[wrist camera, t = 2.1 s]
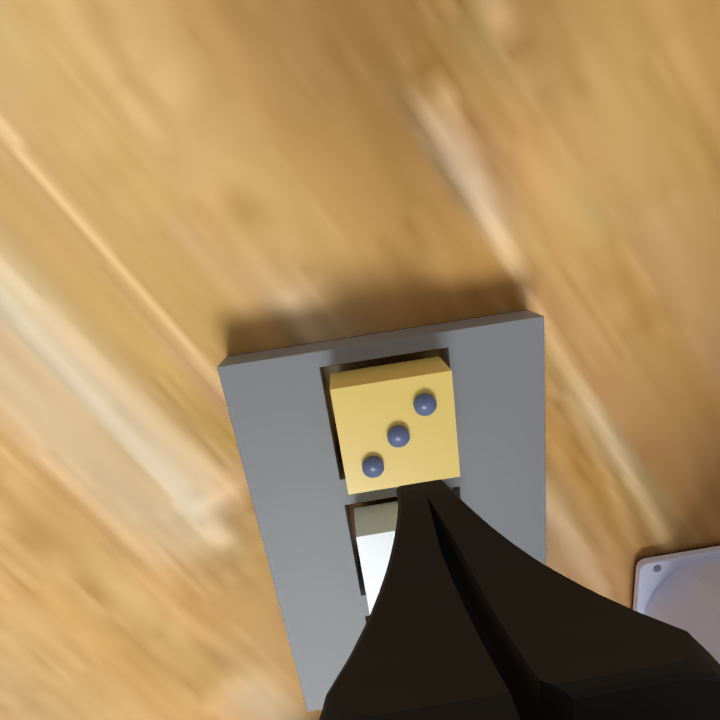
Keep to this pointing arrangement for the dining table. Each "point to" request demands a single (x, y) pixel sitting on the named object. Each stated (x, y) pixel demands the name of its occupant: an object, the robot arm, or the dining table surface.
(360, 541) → the tile two
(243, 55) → the dining table surface
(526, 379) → the board
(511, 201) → the dining table surface
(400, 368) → the tile three
